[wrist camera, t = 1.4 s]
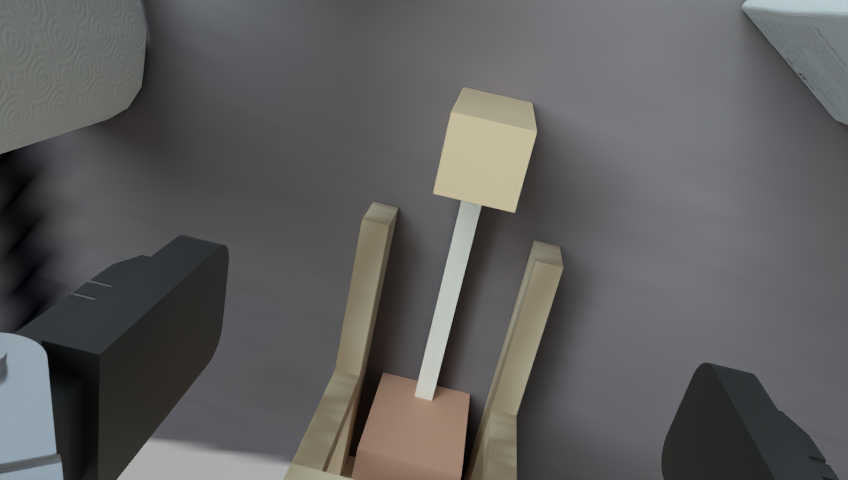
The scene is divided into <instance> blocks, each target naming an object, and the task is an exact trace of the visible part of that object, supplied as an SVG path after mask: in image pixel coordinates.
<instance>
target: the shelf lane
mask: <svg viewBox="0 0 848 480" xmlns="http://www.w3.org/2000/svg"><path fill="white" fill-rule="evenodd" d="M398 209H399V208H398V207H394V206H390V205H386V204H382V203H377V202H373V203H372V205H371V206H370V208H369V209H368V211H367V212H366V214H365V215H364V217H363V219H362V222H361V228H360V233H359V239H358V244H357V250H356V255H355V261H354V267H353V272H352V278H351V283H350V289H349V294H348V300H347V306H346V311H345V317H344V322H343V328H342V333H341V339H340V345H339V350H338V356H337V361H336V367H335V371H334V373H333V375H332V377H331V379H330V382H329V384H328V386H327V388H326V390H325V392H324V394H323V397H322V399H321V401H320V403H319V405H318V407H317V409H316V412H315V414H314V416H313V418H312V420H311V422H310V424H309V426H308V429H307V431H306V433H305V435H304V437H303V439H302V441H301V444H300V446H299V448H298V450H297V452H296V454H295V456H294V459H293V461H292V463H291V465H290V467H289V469H288V471H287V474H286V476H285V478H284V480H354V479H351V477H352V473H353V468H354V463H355V458H356V457H352V456H349V452H350V447H351V442H352V437H353V432H354V427H355V422H356V417H357V412H358V407H359V402H360V397H361V392H362V387H363V382H364V377H365V372H366V367H367V362H368V357H369V352H370V348H371V343H372V338H373V333H374V328H375V323H376V318H377V313H378V308H379V303H380V298H381V293H382V288H383V283H384V278H385V273H386V268H387V263H388V258H389V253H390V248H391V243H392V238H393V233H394V228H395V224H396V219H397V214H398ZM562 271H563V262H562V257H561V251H560V246H557V245H553V244H549V243H545V242H541V241H536V240H534V241H533V245H532V248H531V252H530V255H529V258H528V262H527V265H526V269H525V272H524V275H523V279H522V282H521V286H520V289H519V292H518V296H517V299H516V303H515V306H514V309H513V313H512V316H511V320H510V323H509V326H508V330H507V333H506V337H505V340H504V343H503V347H502V350H501V354H500V357H499V360H498V364H497V367H496V371H495V374H494V377H493V381H492V384H491V388H490V391H489V394H488V398H487V401H486V405H485V408H484V411H483V415H482V418H481V422H480V425H479V428H478V432H477V435H476V439H475V442H474V445H473V449H472V452H471V456H470V459H469V462H468V466H467V469H466V473H465V476H464V479H463V480H517V431H516V415H517V412H518V409H519V406H520V403H521V400H522V396H523V393H524V390H525V387H526V384H527V381H528V378H529V374H530V371H531V368H532V365H533V362H534V359H535V356H536V353H537V349H538V346H539V343H540V340H541V337H542V334H543V331H544V327H545V324H546V321H547V318H548V315H549V312H550V309H551V306H552V302H553V299H554V296H555V293H556V290H557V287H558V284H559V280H560V277H561V274H562Z"/></svg>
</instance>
